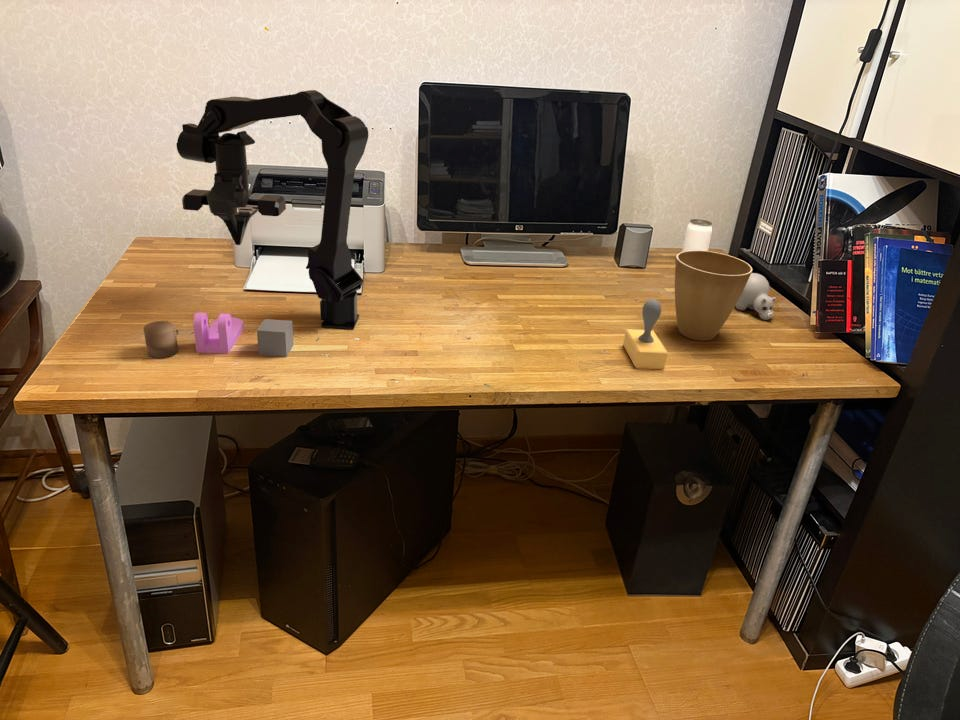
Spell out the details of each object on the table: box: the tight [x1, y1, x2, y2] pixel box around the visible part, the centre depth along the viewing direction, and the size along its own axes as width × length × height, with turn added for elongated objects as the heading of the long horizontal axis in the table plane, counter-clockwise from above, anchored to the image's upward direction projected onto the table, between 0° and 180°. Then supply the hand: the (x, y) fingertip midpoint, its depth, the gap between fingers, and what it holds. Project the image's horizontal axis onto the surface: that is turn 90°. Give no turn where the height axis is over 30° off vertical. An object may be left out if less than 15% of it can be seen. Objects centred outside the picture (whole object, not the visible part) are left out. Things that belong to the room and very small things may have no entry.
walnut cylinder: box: [143, 320, 179, 360], centre depth 124 cm, size 5×5×5 cm
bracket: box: [192, 312, 244, 355], centre depth 130 cm, size 13×6×7 cm, turn 3°
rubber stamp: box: [622, 298, 668, 370], centre depth 134 cm, size 10×6×12 cm, turn 3°
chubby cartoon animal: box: [735, 272, 777, 321], centre depth 160 cm, size 7×12×8 cm, turn 18°
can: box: [681, 218, 713, 252], centre depth 186 cm, size 6×6×12 cm
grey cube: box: [256, 318, 294, 358], centre depth 128 cm, size 5×5×5 cm
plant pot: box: [674, 250, 753, 342], centre depth 145 cm, size 15×15×16 cm
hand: (238, 244), depth 143 cm, fingers closed
